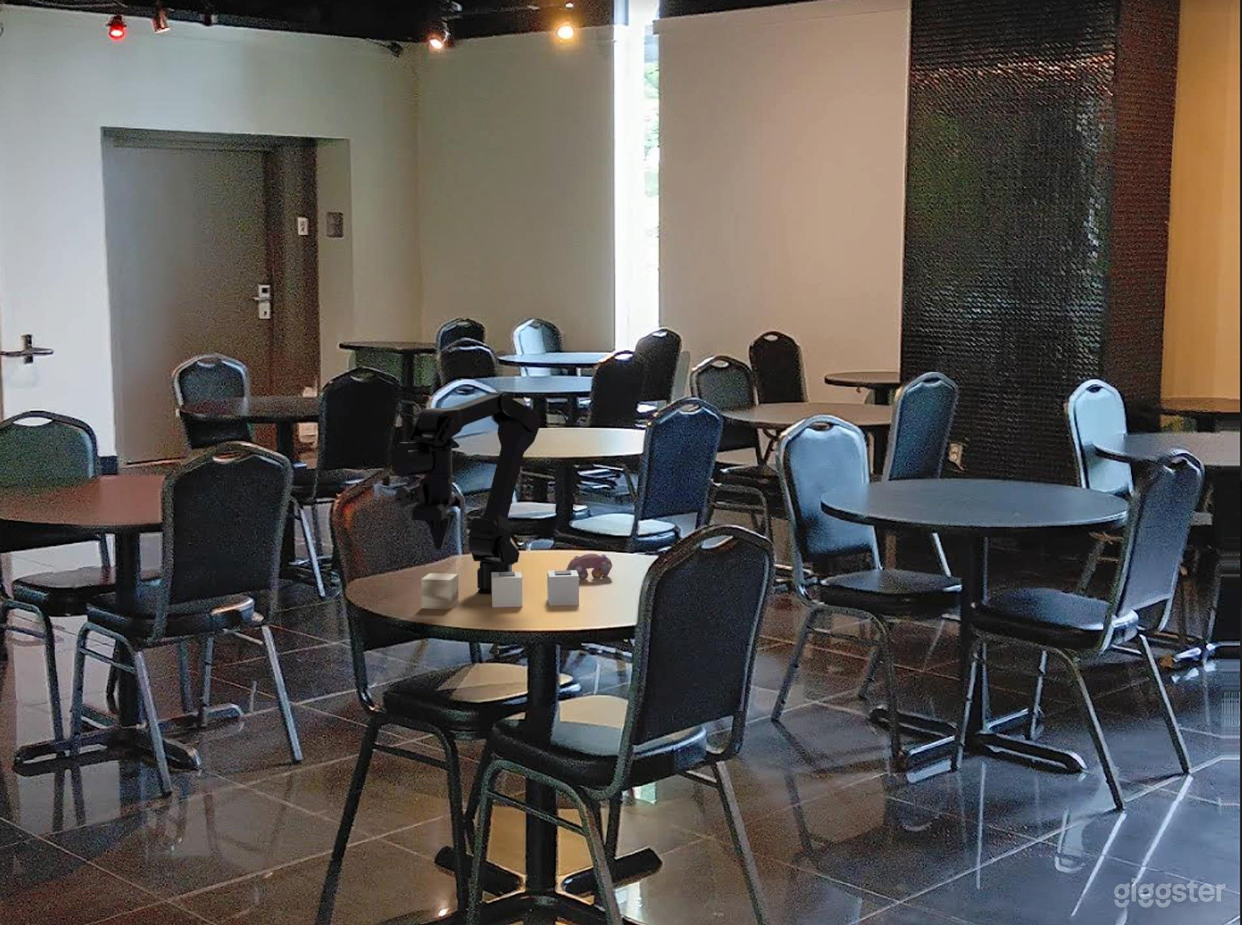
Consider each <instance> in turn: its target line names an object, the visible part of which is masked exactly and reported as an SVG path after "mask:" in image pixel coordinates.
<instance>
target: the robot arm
mask: <svg viewBox="0 0 1242 925" xmlns="http://www.w3.org/2000/svg"><path fill="white" fill-rule="evenodd" d="M489 417H491V418H490V419H491V421H493V422H494V423H495V424H496V425H497V437H498V440H499V444H500V451H499V454H498V458H497V462H496V465H495V466H496V467H495V470H494V475H493V479H492V482H491V486H490V489H489V490H490V491H489V493H488V498H487V503H486V505H485V510H484V512H483V513H482V514H481V516H480V517H473V519H472V520H471V524H470V529H469V532H468V533H467V537H468V541H467V543H468V547H469V550H470V553H471V556H472V560H473V562H479V568H477V570H476V571H477V572H476V574H477V576H476V577H477V578H476V580H477V581H476V582H477V584H476V585H477V593H480V594H492V572H513V568H512V567H513V565H515V564H517V563H518V561H519V558H520V551H519V550H518V549H517V548H516V546H515V545H514V543H512V541H511V539H512V528H511V526H510V521H509V513H510V510H511V506H512V502H513V498H514V493H515V490H516V486H517V483H518V477H519V473H520V470H521V466H522V462H523V457H524V454H525V452H526V451H527V450H528V449H529V448H530V447H531V446H532V445H533V444H534V442H535V440H536V438H537V436H538V432H539V430H540V426H541V421H540V419H539V417H538V415H537V412H535V411H534V410H531V409H530V408H529V407H528V406H527V405H524V404H523V403H520V402H519V401H517V400H516V399H514V398H513V397H512V396H511V395H510V394H508V393H506V392H497V391H496V392H495V391H489V392H487V393H486V394H485V395H482V396H479V397H475V398H473V399H471V400H468V401H465V402H462V403H460V404H457V405H454V406H451V407H434V408H425V409H423V410H421V411H420V413H419V416H418V418H417V419H416V421H415V422H416V423H415V424H414V426H413V428H412V430H411V432H410V434H409V437H408V438H407V442H406V441H400V442H398V444H397V445H398V446H397V447H398V448H397V449H396V450H394V452H393V453H392V456H391V458H390V465H391V466H390V468H391V469H392V472H393V473H394V474H395V475H396V476H397V477H399V478H407V477H409V478H410V477H414V476H422V475H423V477H421V478H420V479H419V480H418V484H417V485H415V486H412V487H410V488H409V487H408V486H406V485H404V486H402V487H397V488H396V492H395V494H394V500H393V501H394V503H397V504H398V508H399V509H400V510H401V509H404V508H406V507H407V506H410V505H412V504H416V503H417V502H418V503H417V504H416V505H414V506H413V508H412V509H411V510H410V520H412V521H424V522H425V523H426V525H428V528H429V531H430V534H431V538H432V541H433V544H434V547H435V550H442V549H443V546H444V545H445V541H446V539H447V537H448V535H449V532H450V530H451V528H452V525H453V522H454V521H455V518H456V516H457V512H451V509H450V508H449V507H451V508H454V507H455V508H456V507H457V509H459V510H461V509H463V508H465V498H464V497H463V495H462V494H461V493H455V492H454V493H453V482H455V481H456V480H455V479H456V478H455V477H456V476H455V475H453V453H452V452H453V449H459V448H460V444H459V443H458V442H457V441H455V439H454V438H453V437H455V436H457V435H458V434H459V433H461V432H462V430H463V428H464V427H466V426H467V425H470V424H473V423H475V422H479V421H481V420H483V419H486V418H489Z"/></svg>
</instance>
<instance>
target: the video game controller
mask: <svg viewBox="0 0 1242 925" xmlns="http://www.w3.org/2000/svg"><path fill="white" fill-rule="evenodd" d="M612 568H613V563H612V561H611V559H610V558H608V556H607V555H606V554H601V555H599V554H597V553H587V554H583V555H581V556H579V555H576V556H574V558H572V559H571V560H570V561H569V563H568V565H567V567H566V569H565V570H577V573H578V575H579V581H584V580H586V579H588V577H589V573H588V570H589V569H592V570H591V576H592V578H593V579H594V580H599V579H601V578H602V577H607V576H608V575H610V574H609V573H610V572H611V569H612Z"/></svg>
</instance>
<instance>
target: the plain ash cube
mask: <svg viewBox="0 0 1242 925" xmlns="http://www.w3.org/2000/svg"><path fill="white" fill-rule="evenodd" d="M420 584H421V586H420V587H421V588H420V589H421V609H431V610H432V609H434V610H435V609H436V610H452V609H453V608H455V606H457V605H458V604H459V574H458V573H434V572H433V573H430V572H429V573H427V575H425V576H424V577H422V578H421V579H420Z"/></svg>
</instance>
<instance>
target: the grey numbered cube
mask: <svg viewBox="0 0 1242 925" xmlns="http://www.w3.org/2000/svg"><path fill="white" fill-rule="evenodd" d="M546 574H547V575H546V576H547V578H546V580H547V581H546V582H547V588H546V589H547V592H546V593H547V603H548V605H549V606H550V607H551V606H579V605H580V579H579V575H578V573H577V570H566V569H565V570H564V569H563V570H547V571H546Z"/></svg>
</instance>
